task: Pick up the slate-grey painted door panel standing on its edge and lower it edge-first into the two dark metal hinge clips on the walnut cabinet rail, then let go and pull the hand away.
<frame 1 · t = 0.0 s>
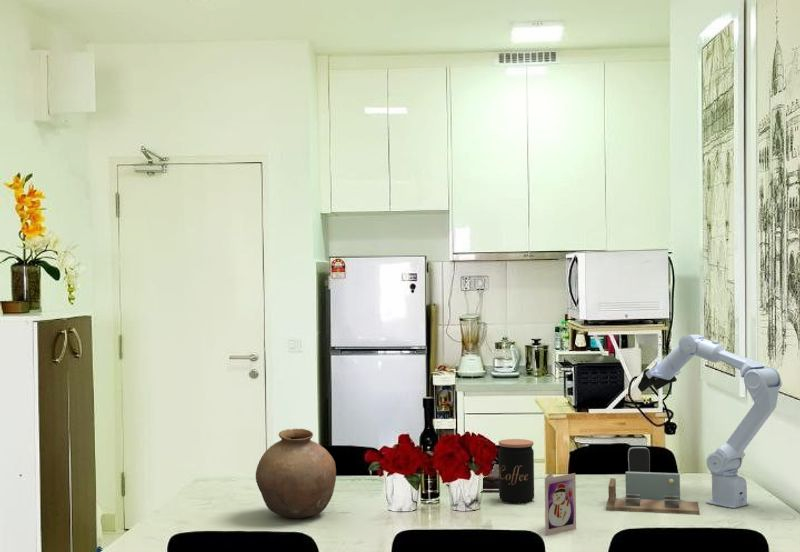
hand: (647, 388, 315), 32 cm above the table, tool tilted 50°, fingers open, 7 cm apart
pottery: (296, 517, 284), on the table
coffee jar: (516, 501, 301), on the table
battery charger: (638, 481, 328), on the table
hinge rail: (652, 507, 289), on the table
greeting card: (553, 530, 265), on the table
door panel: (652, 499, 301), on the table
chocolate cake: (489, 485, 327), on the table
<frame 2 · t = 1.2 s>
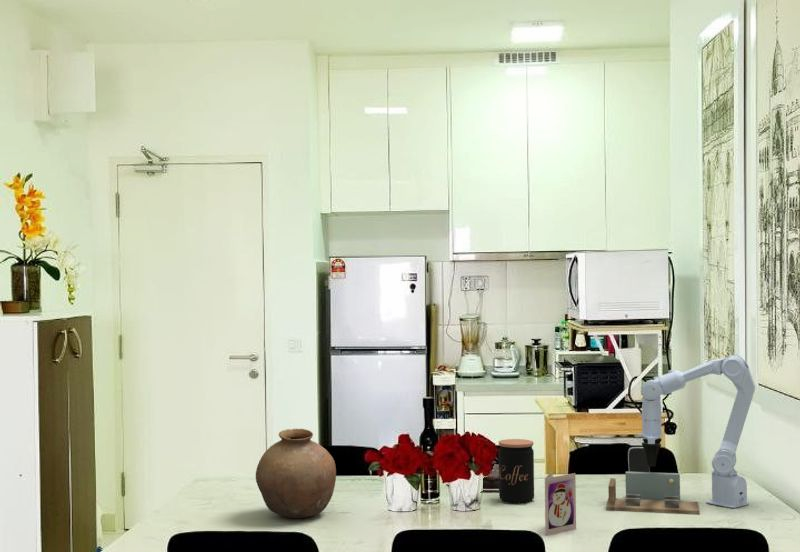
hand: (651, 464, 301), 11 cm above the table, tool pointing down, fingers open, 7 cm apart
nothing on the table moved.
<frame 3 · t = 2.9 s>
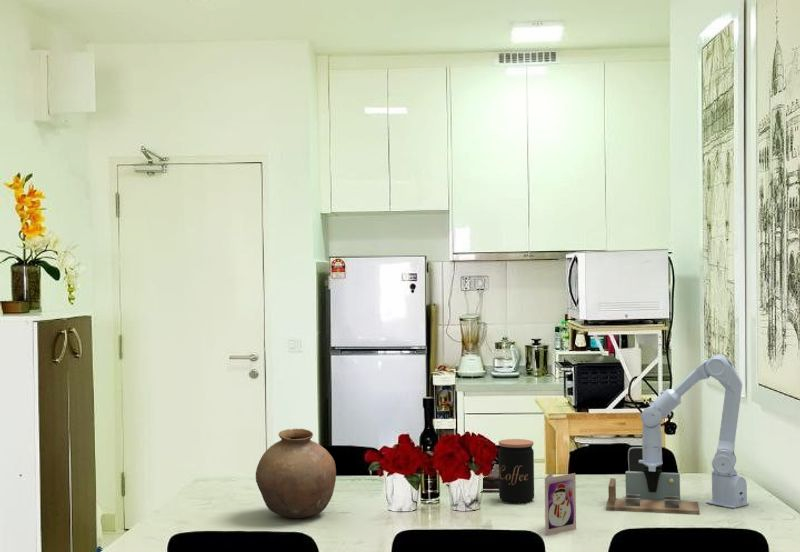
hand: (652, 491, 301), 2 cm above the table, tool pointing down, fingers closed on door panel, 2 cm apart
door panel: (652, 499, 301), on the table, touching gripper
everything else where it was.
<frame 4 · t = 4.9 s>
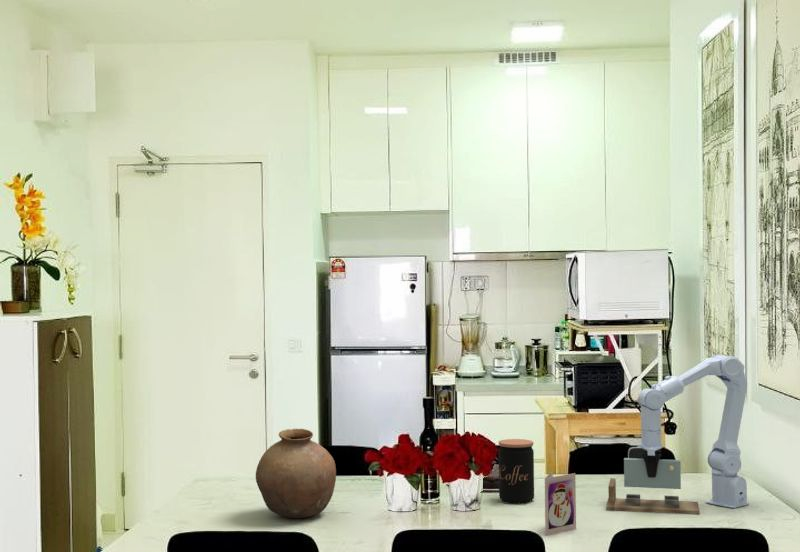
hand: (651, 476, 289), 9 cm above the table, tool pointing down, fingers closed on door panel, 2 cm apart
door panel: (652, 487, 289), point 6 cm above the table, touching gripper
everything else where it was.
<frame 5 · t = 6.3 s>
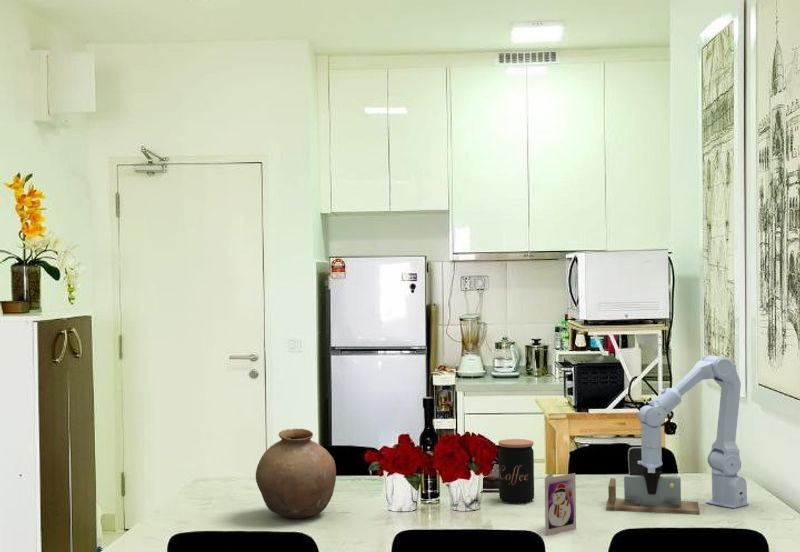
hand: (652, 493, 289), 4 cm above the table, tool pointing down, fingers closed on door panel, 2 cm apart
door panel: (652, 504, 289), point 1 cm above the table, touching gripper, hinge rail
everything else where it was.
when the fingers open (4 cm above the table, at t = 6.9 s): door panel stays where it is, resting on hinge rail.
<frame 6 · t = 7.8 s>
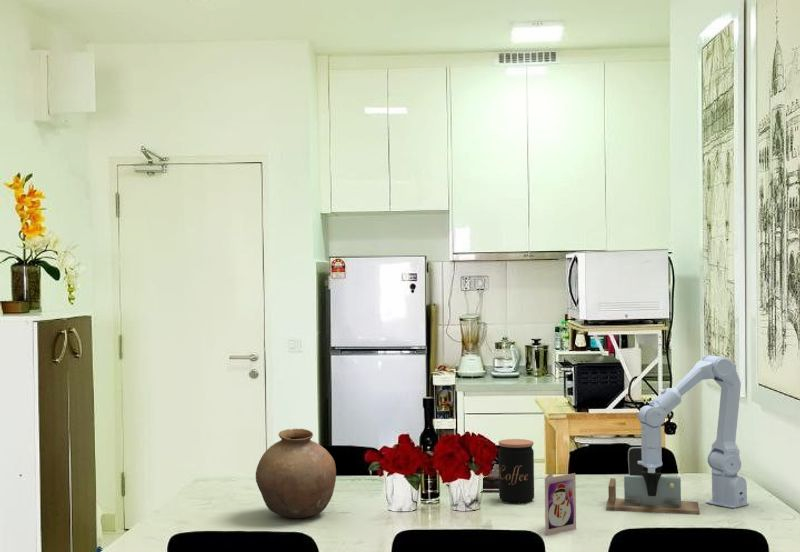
hand: (652, 493, 289), 4 cm above the table, tool pointing down, fingers open, 7 cm apart
door panel: (652, 504, 289), point 1 cm above the table, touching hinge rail
everything else where it was.
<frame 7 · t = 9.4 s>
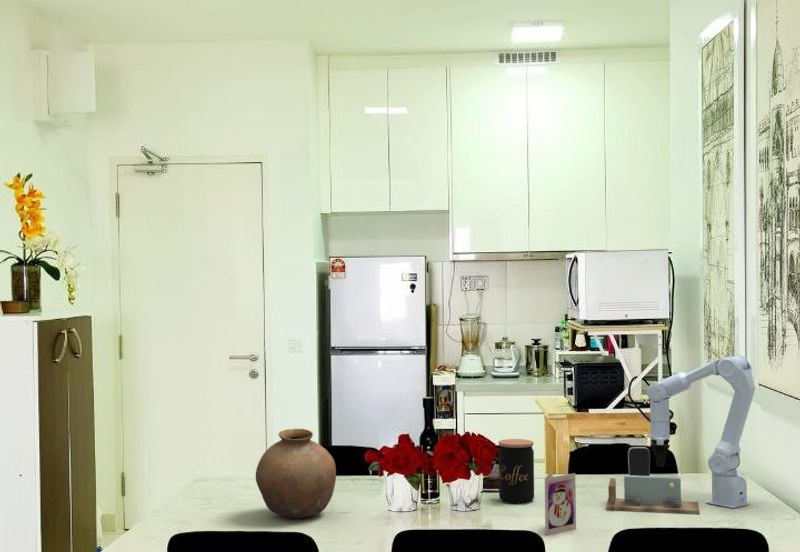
hand: (660, 464, 306), 9 cm above the table, tool pointing down, fingers open, 7 cm apart
nothing on the table moved.
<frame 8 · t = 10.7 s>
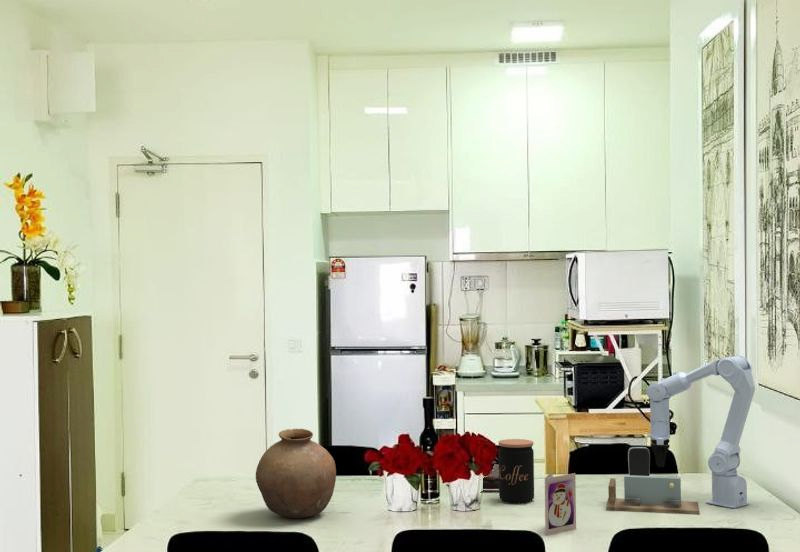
hand: (660, 464, 306), 9 cm above the table, tool pointing down, fingers open, 7 cm apart
nothing on the table moved.
at the end: door panel 0.1 cm off-centre on the hinge rail, point 1.0 cm above the hinge rail's base; door panel tilted 0°; the gripper is holding nothing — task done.
